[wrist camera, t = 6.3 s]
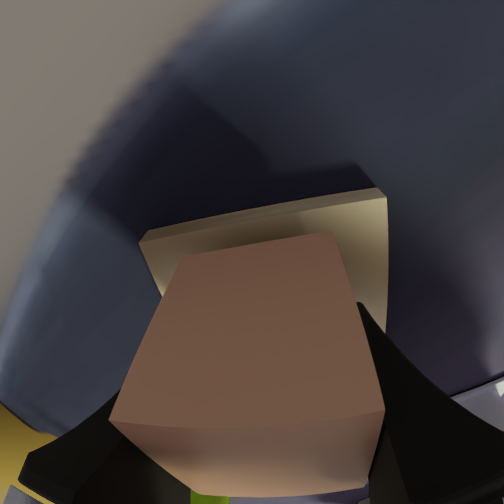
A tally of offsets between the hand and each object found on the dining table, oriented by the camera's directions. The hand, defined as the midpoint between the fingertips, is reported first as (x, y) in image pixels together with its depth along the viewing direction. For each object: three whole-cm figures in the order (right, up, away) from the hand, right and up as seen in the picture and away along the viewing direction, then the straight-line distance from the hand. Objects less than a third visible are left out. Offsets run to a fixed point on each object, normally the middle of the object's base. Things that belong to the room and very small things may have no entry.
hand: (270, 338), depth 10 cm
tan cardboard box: (0, +1, +1) cm, 2 cm away
